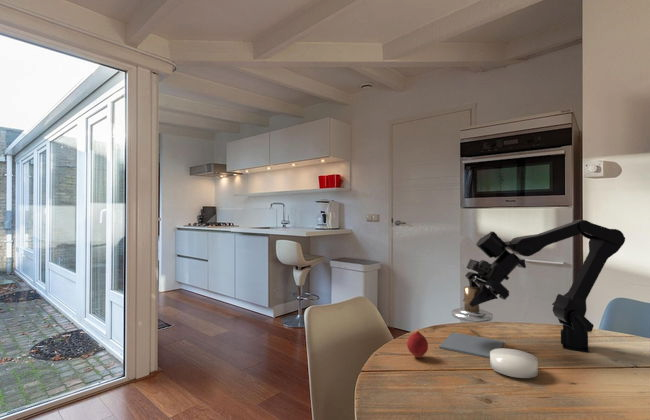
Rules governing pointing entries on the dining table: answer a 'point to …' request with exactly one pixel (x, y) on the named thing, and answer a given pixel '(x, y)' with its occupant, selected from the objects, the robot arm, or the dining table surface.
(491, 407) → the dining table surface
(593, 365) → the dining table surface
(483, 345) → the mat
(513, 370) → the white rounded piece
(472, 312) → the cylinder on round base
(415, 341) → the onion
